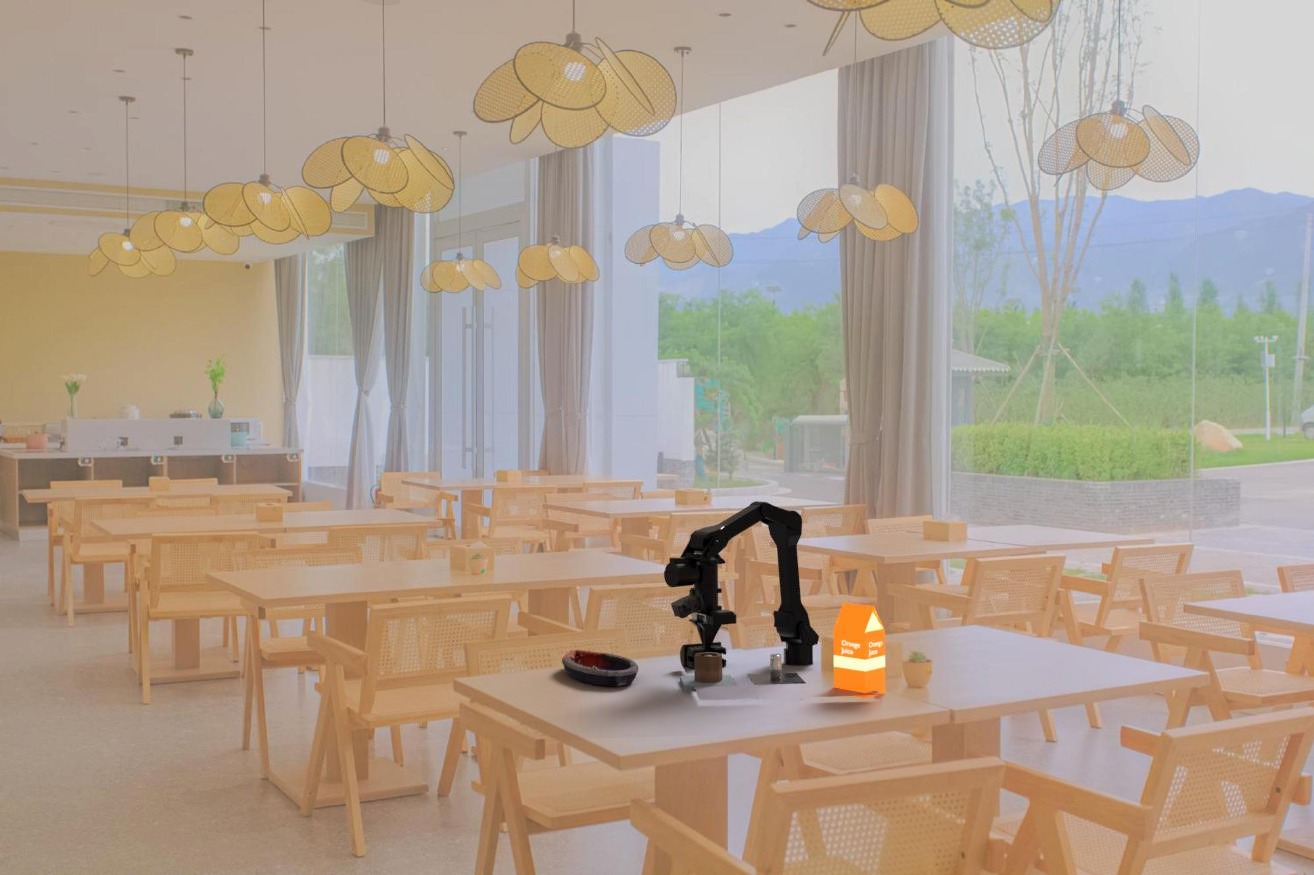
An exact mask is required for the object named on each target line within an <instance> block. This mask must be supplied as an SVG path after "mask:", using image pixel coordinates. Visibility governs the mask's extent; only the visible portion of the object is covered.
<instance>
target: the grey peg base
mask: <svg viewBox="0 0 1314 875" xmlns="http://www.w3.org/2000/svg"><path fill="white" fill-rule="evenodd" d="M704 656H708V657H710V656H712V655H704ZM679 677H680V678H679V682H680V683H681V686H682V688H683V690H684V692H697V690H696V688H695V687H714V686H715V687H717V686H718V687H719V686H720V687H723V686H738V684H737V682H736V681H735V679H734V678H733V676H732V675H731V674H722V681H720V682H716V683H699V682H697V681H695V675H680V676H679Z"/></svg>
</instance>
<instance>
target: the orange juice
mask: <svg viewBox="0 0 1314 875" xmlns="http://www.w3.org/2000/svg"><path fill="white" fill-rule="evenodd" d="M885 633H886V629H885V628H884V625H883V623H882V621H881V619H880V617H879V615H878V613H877V610H876V607H875V606H872V605H867V604H866V605H864V604H856V603H850V602H849V603H848V602H843V603H842V606H841V608H840V612H839V614H838V616H837V618H836V622H835V624H834V627H833V688H835V689H836V688H837V689H841V690H847V691H853V692H857V693H863V695H854V697H856V698H859V699H868V698H871V697H876V696H878V694H880V695H883V694H886V634H885ZM875 691H876V692H878V694H871V695H869V694H867V693H871V692H875ZM864 694H865V695H864ZM866 694H867V695H866Z"/></svg>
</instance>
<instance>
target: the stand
mask: <svg viewBox="0 0 1314 875" xmlns="http://www.w3.org/2000/svg"><path fill="white" fill-rule="evenodd" d="M769 659H770V660H769V662H770V666H769V667H770V670H769V671H770V673H747V674H746V675H747V677H748V678H749V680H750V681H751V682H752V683H753V685H755V686H759V685H766V686H767V685H796V684H797V685H798V684H807V682H806V681H805V680H804V679H803V678H802V677H801V676H800V675H799V674H798V673H797V672H789V673H788V672H787V673H786V672H783V673H782V671H783V670H782V654H780V653H771V654H770V655H769Z"/></svg>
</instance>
